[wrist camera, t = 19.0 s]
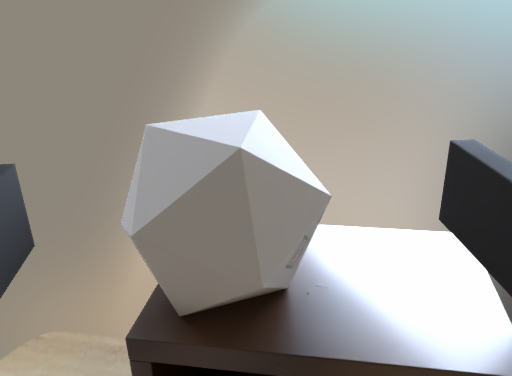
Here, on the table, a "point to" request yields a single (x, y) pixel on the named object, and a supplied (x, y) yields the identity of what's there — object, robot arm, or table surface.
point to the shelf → (343, 316)
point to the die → (221, 209)
